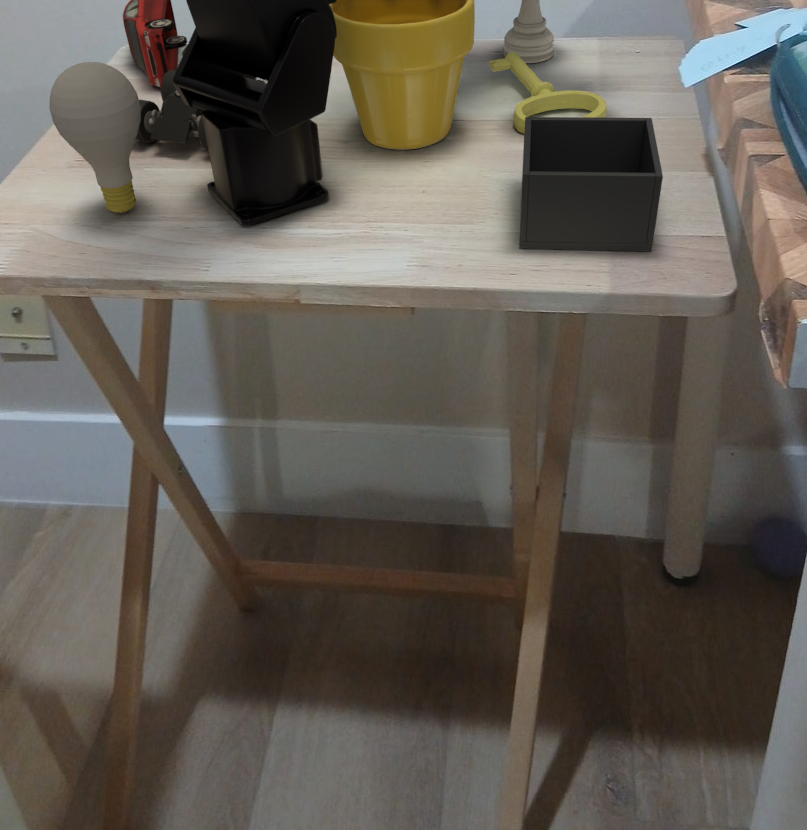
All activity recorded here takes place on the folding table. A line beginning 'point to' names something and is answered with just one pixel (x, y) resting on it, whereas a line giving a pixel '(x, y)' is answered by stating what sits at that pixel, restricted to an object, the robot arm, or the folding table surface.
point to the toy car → (152, 37)
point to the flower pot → (403, 65)
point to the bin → (589, 184)
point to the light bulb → (99, 125)
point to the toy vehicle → (172, 116)
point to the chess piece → (530, 35)
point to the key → (545, 93)
